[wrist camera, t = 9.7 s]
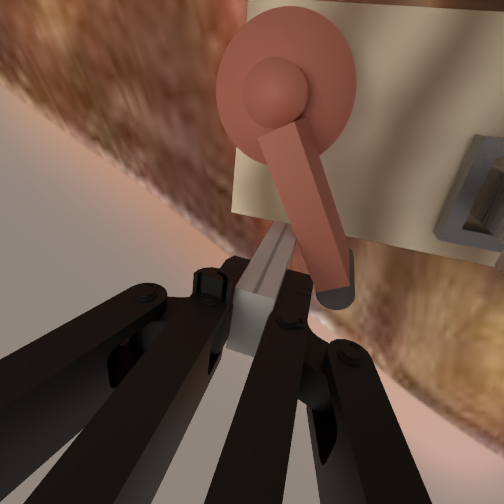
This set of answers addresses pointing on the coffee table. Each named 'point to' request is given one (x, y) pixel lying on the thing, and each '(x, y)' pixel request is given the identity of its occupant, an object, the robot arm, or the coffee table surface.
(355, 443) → the robot arm
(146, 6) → the coffee table surface
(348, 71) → the door handle
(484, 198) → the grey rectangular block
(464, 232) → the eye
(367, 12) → the plate
